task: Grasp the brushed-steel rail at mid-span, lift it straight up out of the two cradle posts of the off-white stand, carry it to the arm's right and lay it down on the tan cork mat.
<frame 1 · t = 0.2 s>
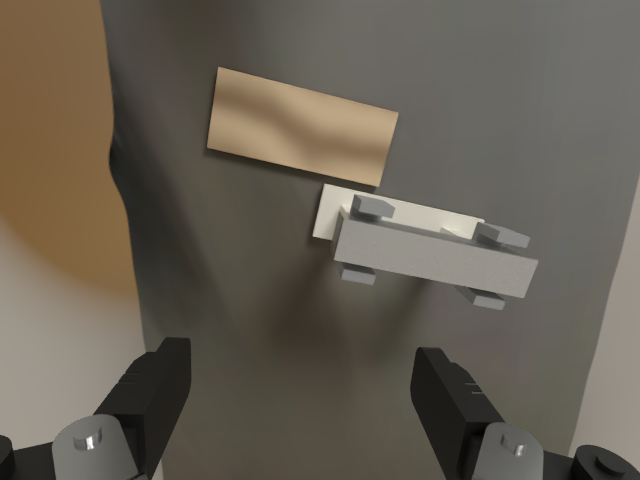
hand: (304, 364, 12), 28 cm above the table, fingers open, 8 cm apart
rail: (423, 248, 32), point 9 cm above the table, touching rail stand
rail stand: (397, 226, 41), on the table
mat: (303, 130, 37), on the table
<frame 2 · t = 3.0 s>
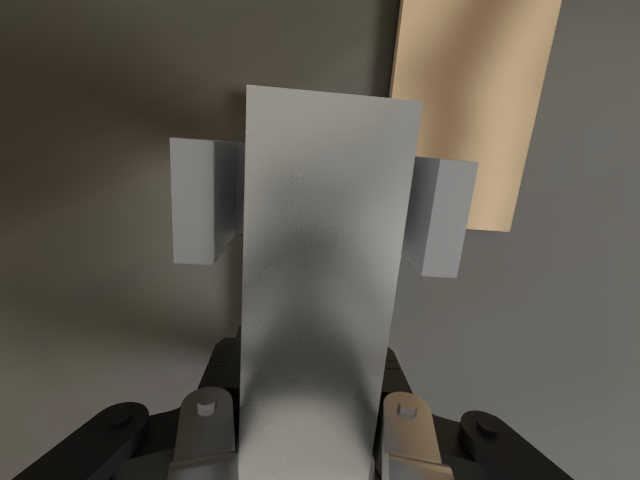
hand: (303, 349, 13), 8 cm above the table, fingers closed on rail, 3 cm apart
rail: (304, 362, 12), point 9 cm above the table, touching gripper, rail stand
rail stand: (302, 273, 21), on the table
mat: (470, 49, 18), on the table
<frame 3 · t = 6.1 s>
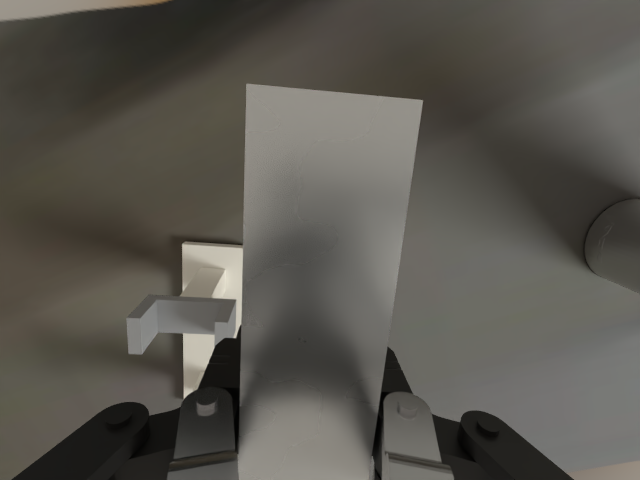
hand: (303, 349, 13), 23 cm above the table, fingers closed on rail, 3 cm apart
rail: (304, 362, 12), point 24 cm above the table, touching gripper
rail stand: (214, 328, 38), on the table
when the fingers open (1 cm above the table, at t = 9.3 s): rail drops 2 cm, resting on mat.
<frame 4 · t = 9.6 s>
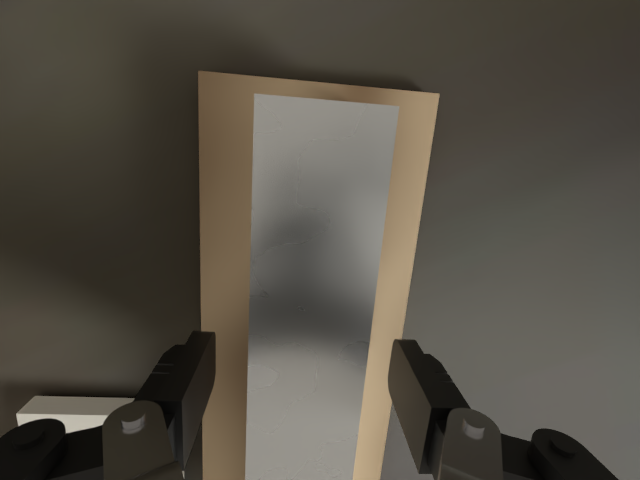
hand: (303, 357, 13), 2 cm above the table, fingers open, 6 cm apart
rail: (303, 337, 14), point 1 cm above the table, touching mat
mat: (303, 331, 15), on the table
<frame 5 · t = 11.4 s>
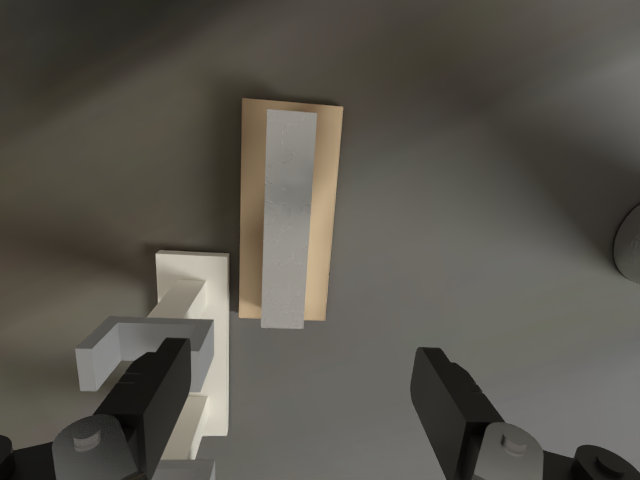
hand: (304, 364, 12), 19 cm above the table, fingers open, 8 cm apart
rail: (287, 219, 30), point 1 cm above the table, touching mat
rail stand: (196, 346, 33), on the table
mat: (287, 218, 31), on the table
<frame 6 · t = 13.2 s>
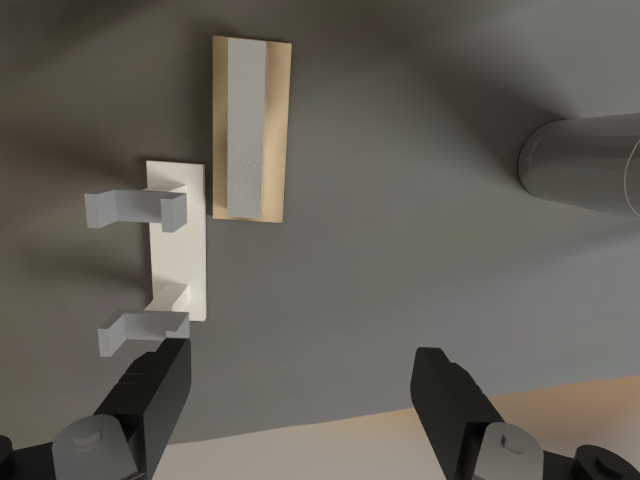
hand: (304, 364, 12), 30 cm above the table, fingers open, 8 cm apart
rail: (250, 135, 38), point 1 cm above the table, touching mat
rail stand: (179, 243, 41), on the table
mat: (250, 135, 39), on the table
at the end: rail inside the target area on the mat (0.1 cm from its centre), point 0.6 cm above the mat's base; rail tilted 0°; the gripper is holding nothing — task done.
